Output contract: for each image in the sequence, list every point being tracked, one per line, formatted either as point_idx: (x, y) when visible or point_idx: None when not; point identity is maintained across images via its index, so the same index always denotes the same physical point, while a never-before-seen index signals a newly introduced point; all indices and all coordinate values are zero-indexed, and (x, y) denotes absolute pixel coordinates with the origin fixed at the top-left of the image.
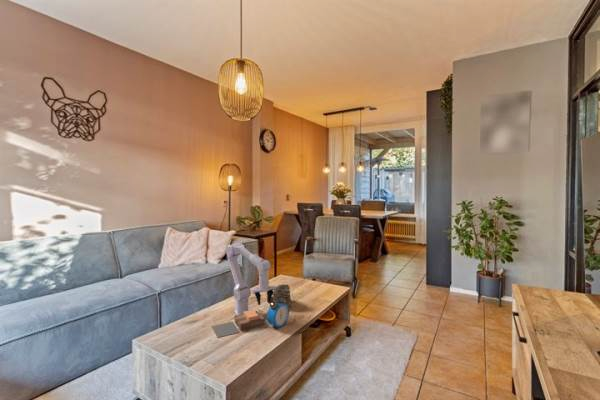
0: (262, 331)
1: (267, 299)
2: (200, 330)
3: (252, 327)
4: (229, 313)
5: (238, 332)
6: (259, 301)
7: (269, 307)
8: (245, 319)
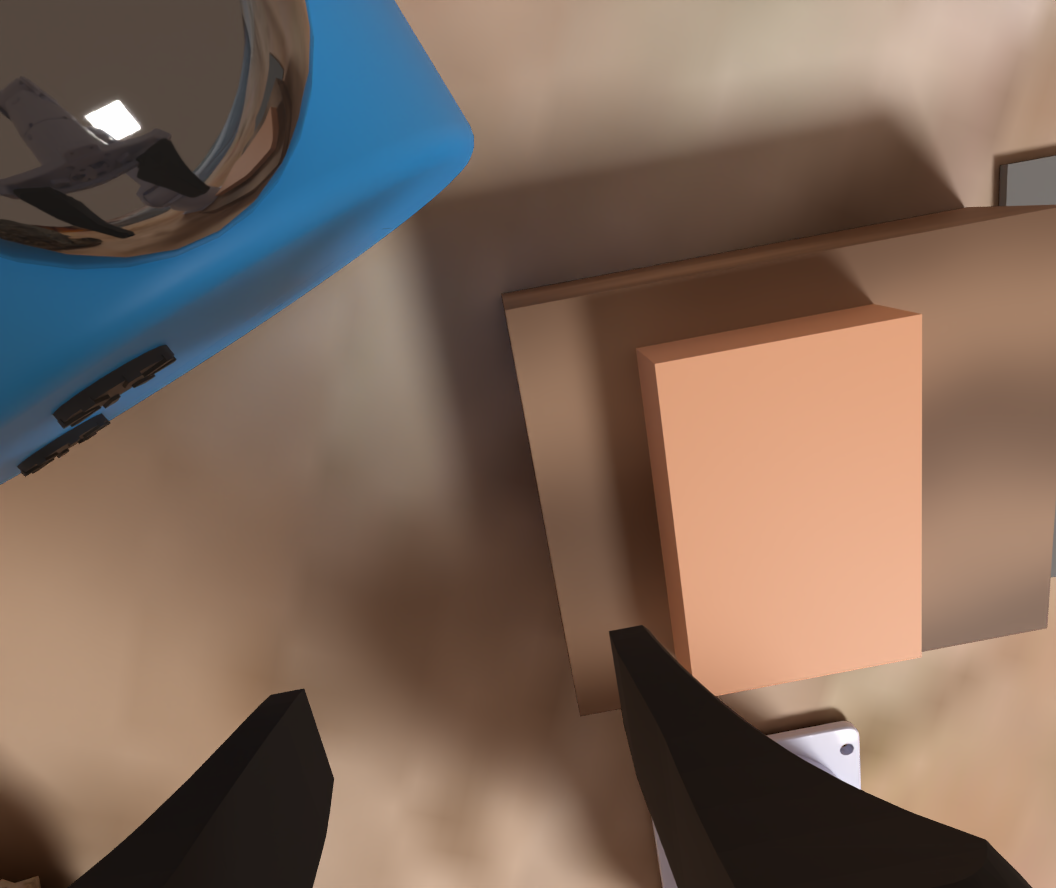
0: (591, 55)
1: (308, 849)
2: None
3: (749, 250)
4: None
5: (1028, 162)
6: (677, 688)
7: (339, 187)
8: None
